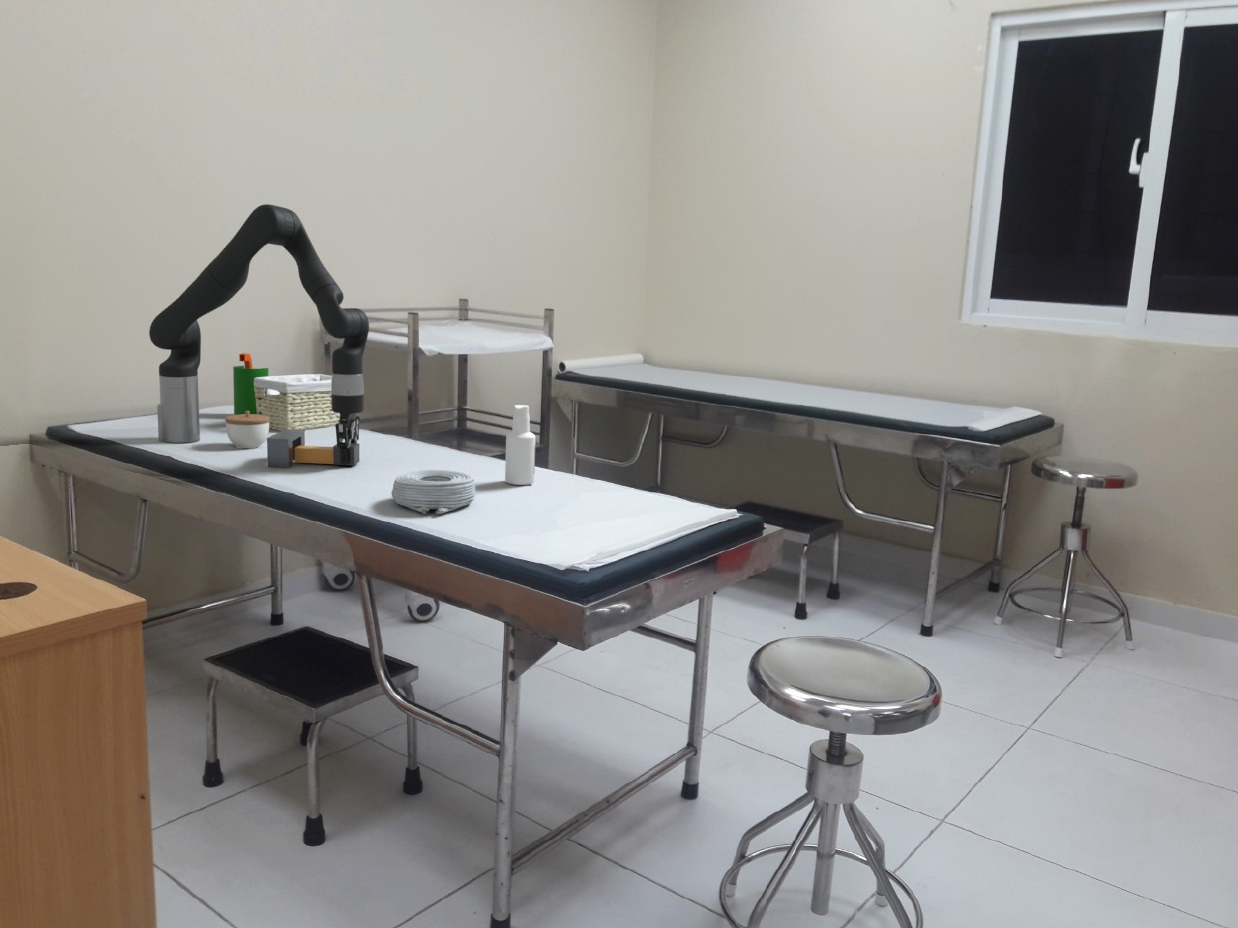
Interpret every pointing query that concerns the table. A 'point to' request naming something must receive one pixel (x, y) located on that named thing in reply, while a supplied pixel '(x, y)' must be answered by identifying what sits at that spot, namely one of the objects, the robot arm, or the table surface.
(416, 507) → the cable
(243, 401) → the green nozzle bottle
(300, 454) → the plug
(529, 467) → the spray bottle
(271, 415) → the storage basket
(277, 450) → the housing
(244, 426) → the lidded jar
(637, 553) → the table surface
